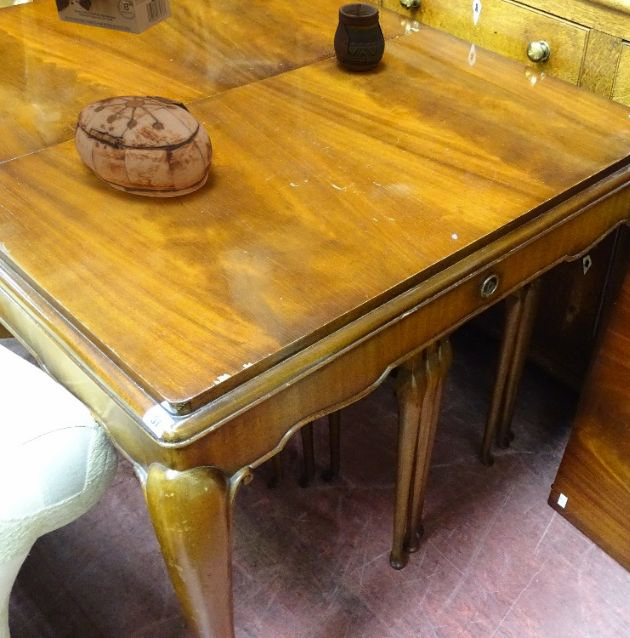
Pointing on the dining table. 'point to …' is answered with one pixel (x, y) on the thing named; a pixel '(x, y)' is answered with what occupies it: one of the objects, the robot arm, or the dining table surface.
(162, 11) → the coffee box
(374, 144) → the dining table surface
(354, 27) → the mate gourd
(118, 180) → the trinket box
